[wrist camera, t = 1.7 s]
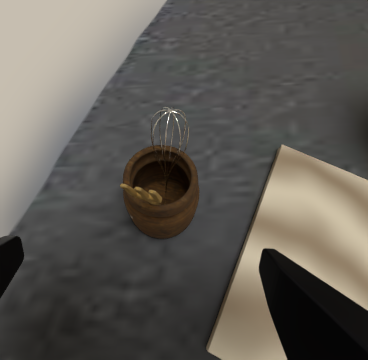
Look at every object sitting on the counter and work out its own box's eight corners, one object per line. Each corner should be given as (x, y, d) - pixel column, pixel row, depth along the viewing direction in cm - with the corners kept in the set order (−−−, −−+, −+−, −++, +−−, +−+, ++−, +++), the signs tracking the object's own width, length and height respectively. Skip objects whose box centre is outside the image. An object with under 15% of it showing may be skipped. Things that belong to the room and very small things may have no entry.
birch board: (398, 459, 15) (413, 470, 14) (205, 348, 17) (207, 351, 16) (408, 204, 23) (418, 201, 22) (278, 149, 25) (282, 144, 24)
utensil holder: (199, 187, 23) (226, 94, 12) (186, 250, 20) (207, 205, 9) (141, 174, 23) (118, 72, 12) (121, 236, 20) (68, 174, 9)
